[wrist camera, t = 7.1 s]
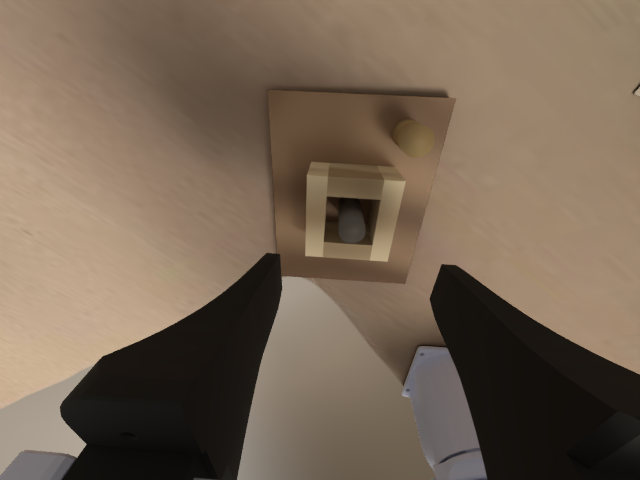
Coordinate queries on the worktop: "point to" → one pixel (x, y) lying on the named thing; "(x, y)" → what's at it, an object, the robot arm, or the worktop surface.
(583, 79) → the worktop surface
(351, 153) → the post board
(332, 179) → the ring
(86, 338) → the worktop surface
